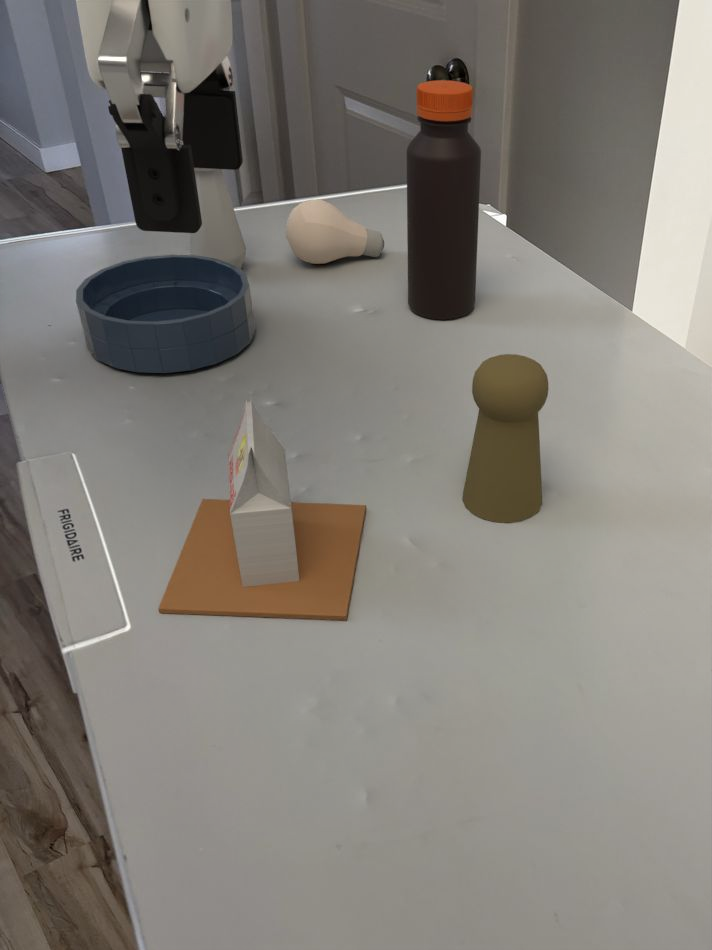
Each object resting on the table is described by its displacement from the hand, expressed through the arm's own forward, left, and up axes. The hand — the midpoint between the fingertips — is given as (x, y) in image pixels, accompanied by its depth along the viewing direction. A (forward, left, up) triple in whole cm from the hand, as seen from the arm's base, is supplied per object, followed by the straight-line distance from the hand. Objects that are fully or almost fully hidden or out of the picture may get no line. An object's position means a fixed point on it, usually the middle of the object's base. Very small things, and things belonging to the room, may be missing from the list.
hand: (194, 196), depth 50 cm
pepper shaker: (+18, +5, -23) cm, 30 cm away
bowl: (-13, +29, -23) cm, 40 cm away
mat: (+2, -3, -23) cm, 23 cm away
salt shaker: (-12, +45, -23) cm, 52 cm away
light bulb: (0, +49, -23) cm, 55 cm away
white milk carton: (+2, -3, -23) cm, 23 cm away
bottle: (+12, +38, -23) cm, 47 cm away
